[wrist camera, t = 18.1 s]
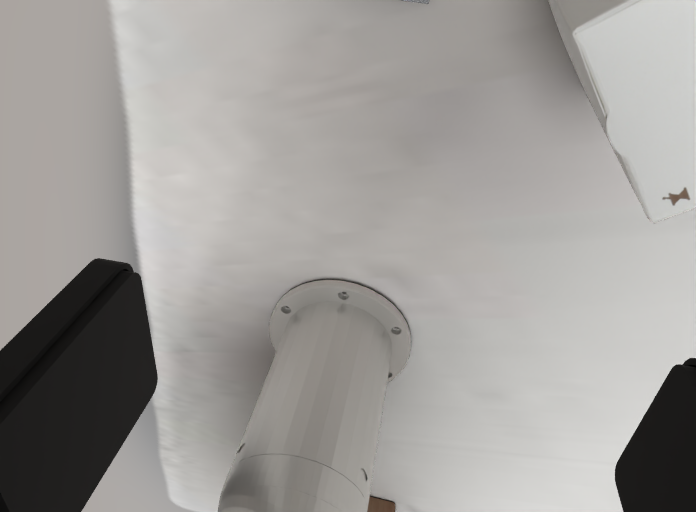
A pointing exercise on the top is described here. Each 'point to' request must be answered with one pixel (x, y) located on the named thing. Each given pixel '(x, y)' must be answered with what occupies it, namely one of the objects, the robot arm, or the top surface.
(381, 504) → the wooden block
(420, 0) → the breaker board
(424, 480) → the top surface
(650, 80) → the skincare box
